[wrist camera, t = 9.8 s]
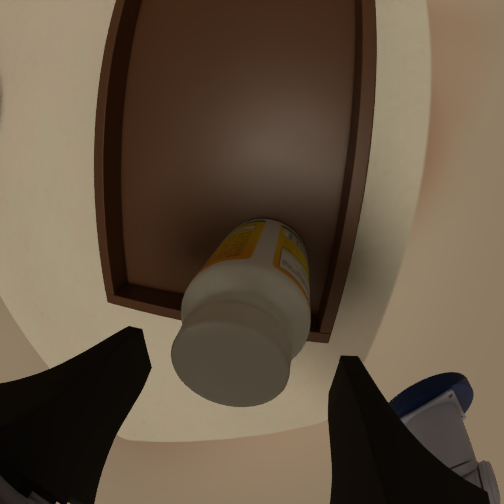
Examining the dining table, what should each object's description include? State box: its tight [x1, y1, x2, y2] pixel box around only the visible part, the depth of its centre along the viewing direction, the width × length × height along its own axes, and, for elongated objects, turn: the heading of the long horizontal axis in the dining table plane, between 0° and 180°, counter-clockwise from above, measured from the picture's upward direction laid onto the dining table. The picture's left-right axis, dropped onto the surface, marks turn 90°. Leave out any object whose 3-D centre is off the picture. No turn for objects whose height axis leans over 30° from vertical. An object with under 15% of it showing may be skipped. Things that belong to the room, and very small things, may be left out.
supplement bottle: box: [171, 219, 311, 407], centre depth 13 cm, size 5×5×10 cm
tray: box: [94, 0, 377, 343], centre depth 13 cm, size 30×16×3 cm, turn 175°
